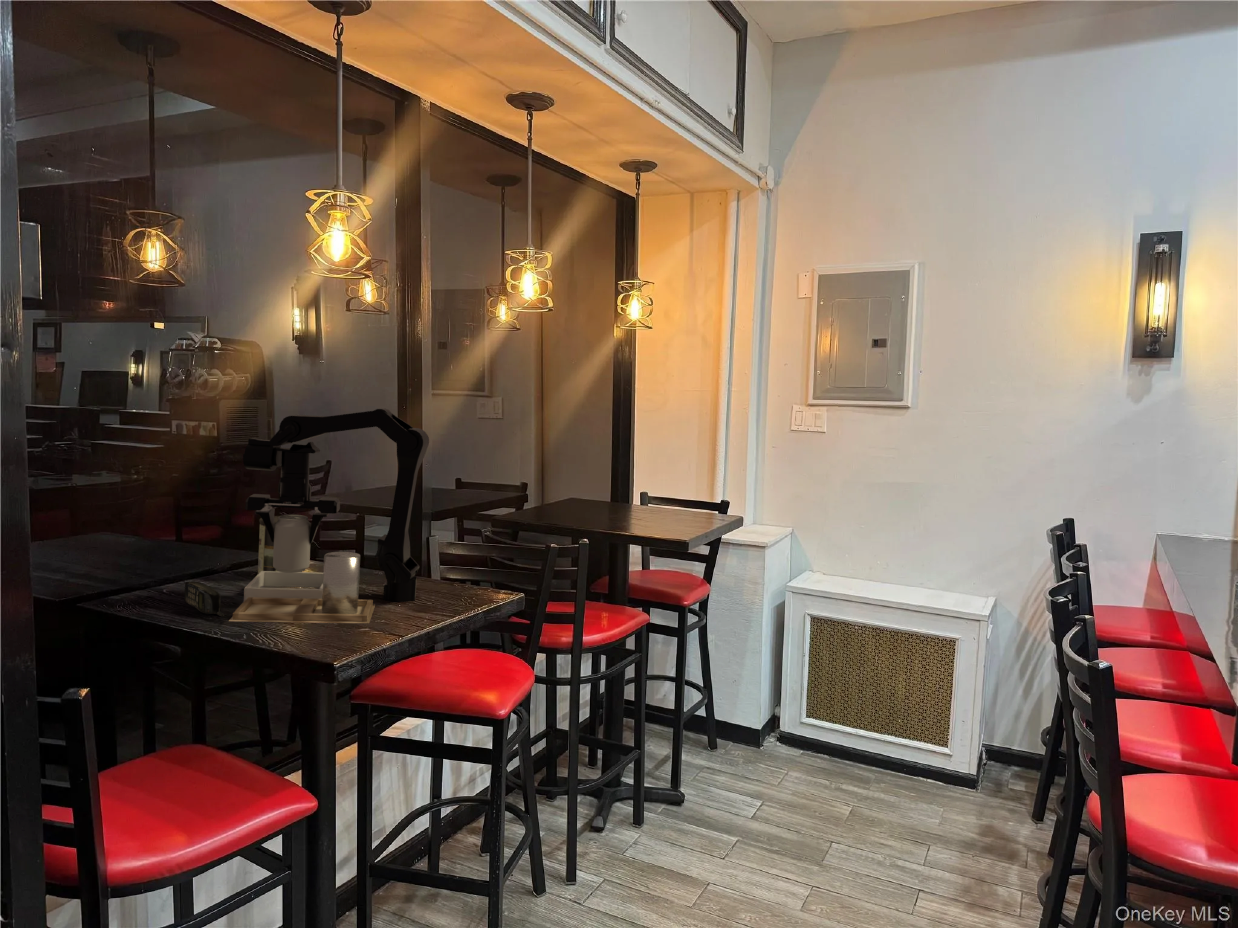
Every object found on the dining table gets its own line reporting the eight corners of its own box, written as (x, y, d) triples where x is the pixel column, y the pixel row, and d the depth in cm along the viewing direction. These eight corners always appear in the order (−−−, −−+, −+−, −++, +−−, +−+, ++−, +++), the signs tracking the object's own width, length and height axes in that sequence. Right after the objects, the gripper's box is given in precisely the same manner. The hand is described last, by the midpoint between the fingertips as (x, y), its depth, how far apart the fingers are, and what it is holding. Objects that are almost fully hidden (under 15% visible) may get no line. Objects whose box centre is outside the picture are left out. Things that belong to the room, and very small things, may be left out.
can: (296, 575, 174) (298, 520, 173) (265, 571, 176) (267, 516, 175) (316, 568, 182) (318, 515, 181) (286, 564, 183) (288, 512, 182)
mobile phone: (182, 580, 170) (212, 594, 160) (197, 578, 172) (228, 592, 163) (181, 603, 170) (212, 619, 161) (196, 601, 173) (227, 616, 163)
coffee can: (311, 576, 200) (314, 520, 198) (275, 583, 191) (277, 524, 189) (284, 568, 205) (286, 514, 203) (247, 575, 196) (249, 517, 194)
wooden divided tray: (375, 610, 175) (375, 598, 174) (368, 630, 161) (369, 617, 161) (246, 608, 169) (246, 595, 169) (228, 628, 156) (228, 614, 155)
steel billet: (359, 608, 170) (362, 552, 169) (355, 617, 164) (358, 559, 162) (324, 607, 169) (326, 551, 168) (318, 617, 162) (321, 558, 161)
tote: (332, 589, 189) (332, 572, 188) (321, 608, 173) (322, 589, 173) (260, 588, 185) (261, 570, 185) (243, 606, 170) (244, 588, 170)
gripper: (344, 470, 187) (341, 537, 188) (258, 466, 183) (255, 534, 184) (337, 476, 176) (334, 546, 177) (246, 471, 172) (243, 543, 173)
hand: (292, 542), depth 178 cm, fingers closed on can, 7 cm apart
